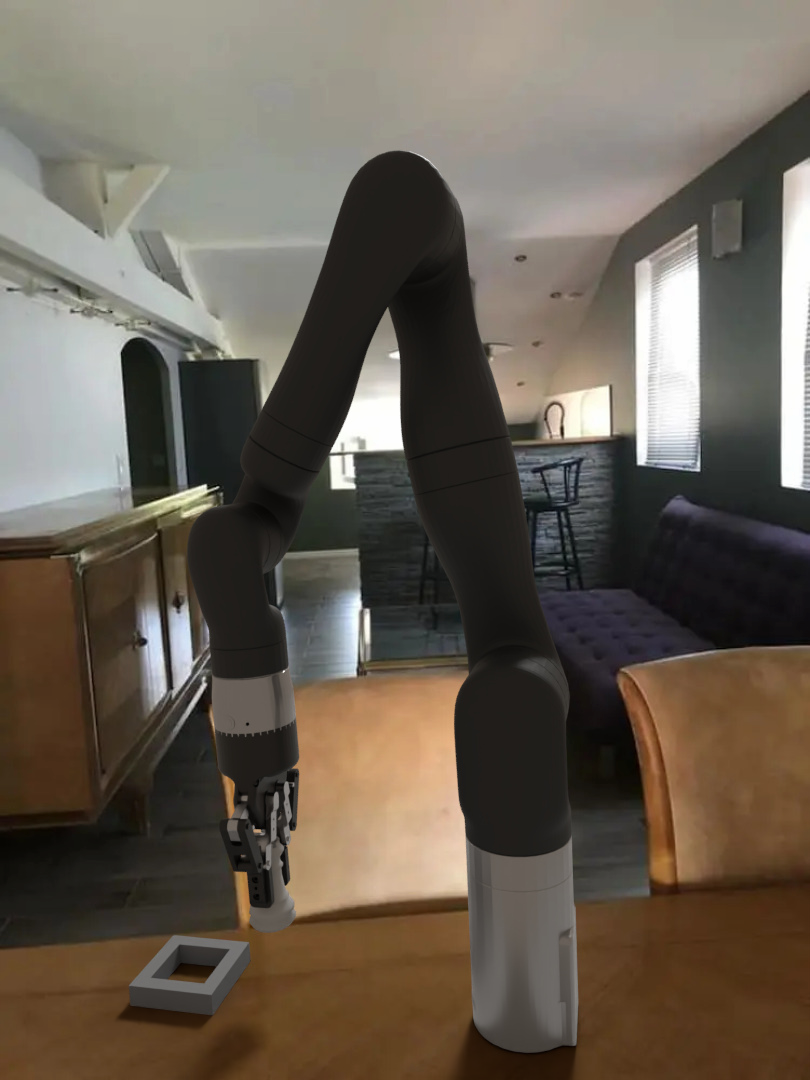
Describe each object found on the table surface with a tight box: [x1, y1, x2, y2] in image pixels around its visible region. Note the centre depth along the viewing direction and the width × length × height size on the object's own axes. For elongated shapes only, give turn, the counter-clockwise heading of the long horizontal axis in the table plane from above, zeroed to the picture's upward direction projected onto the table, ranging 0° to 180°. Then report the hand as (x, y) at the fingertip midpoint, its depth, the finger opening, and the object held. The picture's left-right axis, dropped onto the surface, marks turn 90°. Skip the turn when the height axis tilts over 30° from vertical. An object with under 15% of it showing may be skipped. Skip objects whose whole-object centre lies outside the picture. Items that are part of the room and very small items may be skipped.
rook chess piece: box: [248, 836, 297, 934], centre depth 79 cm, size 4×4×8 cm
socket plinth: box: [128, 934, 251, 1016], centre depth 82 cm, size 8×8×2 cm
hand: (270, 893), depth 79 cm, fingers closed on rook chess piece, 3 cm apart
